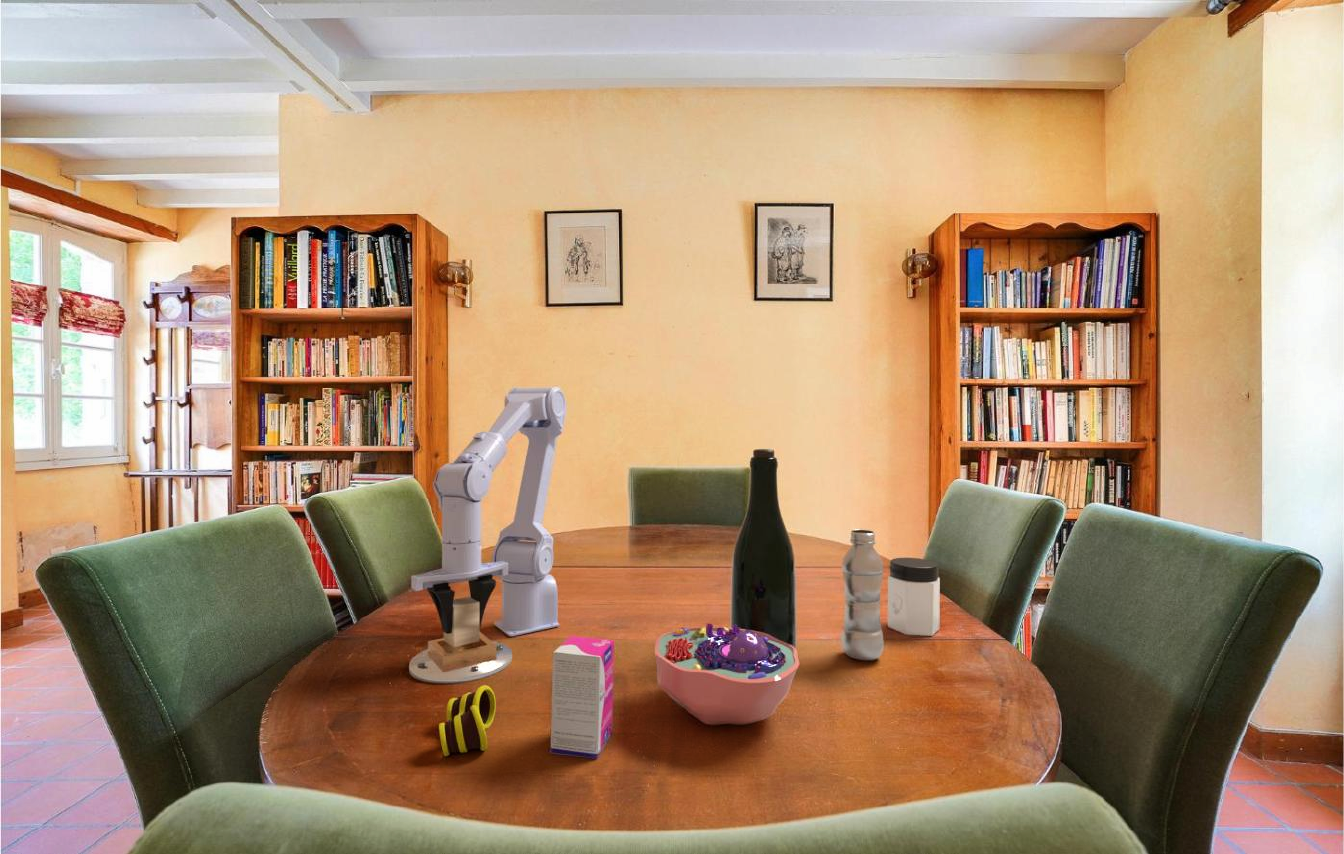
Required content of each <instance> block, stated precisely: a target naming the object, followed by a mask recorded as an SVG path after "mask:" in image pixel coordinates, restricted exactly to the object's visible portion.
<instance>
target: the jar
mask: <svg viewBox="0 0 1344 854" xmlns="http://www.w3.org/2000/svg"><path fill="white" fill-rule="evenodd" d="M940 580H941V579H940V577H939V564H938V563H936V562H935V561H934V560H933V561H932V560H931V559H925V558H920V557H919V558H918V557H897V558H896V557H895V558H892V559H891V560H890V561H889V575H888V576H887V627H888V628H890V629H892V630H893V631H897V632H898V633H902V634H903V635H906V636H918V635H919V637H920V636H921V637H926V636H927V637H933V636H934V635H936V634H937V632H938V631H939V630H940V610H941V609H940V607H941V606H940V605H941V604H940V603H941V602H940V600H941V599H940V597H941V596H940V593H941V592H940V589H941V587H940V586H941V585H940V584H941V583H940V582H941V581H940Z"/></svg>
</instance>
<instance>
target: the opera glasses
mask: <svg viewBox="0 0 1344 854" xmlns="http://www.w3.org/2000/svg"><path fill="white" fill-rule="evenodd" d="M495 696H496V695H495V693H494V691H493V689H492V688H491V687H490V686H488V685H485V684H483V685H480V687H478V688H477V689H476V691H474V692H471V691H470V692H467V693H464V694H462V696H459V697H453V698H452V697H451V698H450V699H449V700H448V702H447V705H446V721H447V723H445V722H440V723H439V724H438V730H439V738H440V744H441V748H442V749H441V750H442V754H443V756H444V757H448V756H449V755H450V754H451V753H453V754H456V753H457V752H460V753H462V754H463V753H467V752H468V750H475V749H479V750H481V752H482V751H486V750H487V747H488V738H487V733H486V730H487V729H489V728H490V727H491V726H492V724H493V721H494V719H495V714H496V706H497V705H496V697H495Z"/></svg>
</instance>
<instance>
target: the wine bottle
mask: <svg viewBox="0 0 1344 854" xmlns="http://www.w3.org/2000/svg"><path fill="white" fill-rule="evenodd" d="M752 453H753V454H752V455H753V456H752V457H750V460H749V468H750V469H749V470H750V476H749V477H750V481H749V484H750V485H749V495H748V502H747V503H748V504H747V508H746V512H745V516H744V519H743V521H742V524H741V527H740V530H739V532H738V534H737V538H736V540H735V541H734V542H735V544H734V548H733V553H732V558H731V559H732V562H731V581H730V583H731V584H730V588H731V589H730V620H729V621H730V622H729V623H730V625H729V626H730V627H729V628H733V625H734V624H735V625H737V628H738V627H739V628H740V629H746V630H752V631H757V632H762V633H765V634H768V635H770V636H772V637H774V638H776V639H778V640H781V641H783V642H785V643H788V644H790V645H792V646H793V647H794V648H795V649H796V650H797V592H796V591H797V590H796V589H797V586H796V585H797V584H796V581H797V580H796V563H795V553H794V548H793V544H792V541H791V539H790V535H789V533H788V529H787V527H786V524H785V522H784V518H783V517H782V512H781V509H780V502H779V495H778V494H779V493H778V491H779V490H778V467H779V465H778V463H779V462H778V458H777V457H776V456H775V450H774V449H769V448H758V449H753V452H752Z"/></svg>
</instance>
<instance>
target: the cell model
mask: <svg viewBox="0 0 1344 854" xmlns="http://www.w3.org/2000/svg"><path fill="white" fill-rule="evenodd" d="M798 654H799V653H798V650H797V648H796V649H795V648H794V647H793V646H792V645H790V644H788V643H785V642H783V641H781V640H778V639H776V638H774V637H772V636H770V635H768V634H765V633H762V632H757V631H752V630H746V629H740V628H739V627H738V628H737V625H735V624H734V625H733V628H730V627H725V626H722V627H720V626H719V627H714V625H713V624H712V623H710V622H709V623H706V625H705V626H694V627H693V626H692V627H687V628H686V627H681V628H679V629H678V630H674V631H670V632H666V633H664V634H662V635H660V636H658V637H657V639H656V641H655V643H654V655H655V662H656V669H657V670H656V671H657V672H656V675H657V679H656V680H657V685H658V686H659V688H660V689H661V690H663V692H665V693H666V694H667V696H668V697H669V698H671V700H673V702H675V703H676V704H677V705H679V706H680V707H682V708H683V709H685V710H686V711H687V712H688V713H689V714H690V715H692V716H693V717H695V718H696V719H697V720H699V722H700V723H701V722H702V723H703V724H706V725H710V726H716V725H717V726H718V725H726V724H727V725H737V726H746V725H750V724H753V723H757V722H760V721H763V720H765V719H766V720H767V719H768V718H770V717H771V716H772V715H773V714H774V712H775V711H776V710H777V708H778V706H780V704H781V703H782V702H783V701H784V700H785V698H786V697H787V695H788V693H789V691H790V688H791V685H792V682H793V680H794V677H795V675H796V672H797V670H798V669H799V666H800V660H799V657H798V656H799V655H798Z"/></svg>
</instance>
